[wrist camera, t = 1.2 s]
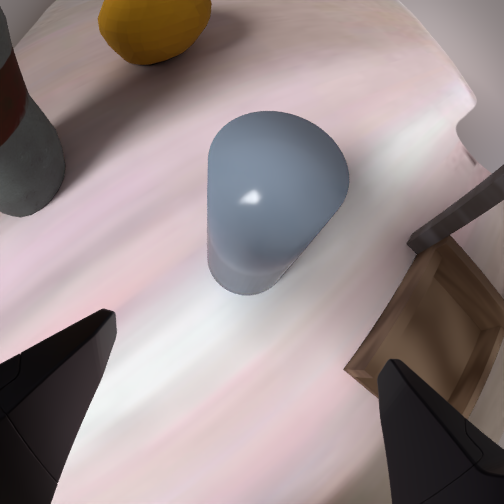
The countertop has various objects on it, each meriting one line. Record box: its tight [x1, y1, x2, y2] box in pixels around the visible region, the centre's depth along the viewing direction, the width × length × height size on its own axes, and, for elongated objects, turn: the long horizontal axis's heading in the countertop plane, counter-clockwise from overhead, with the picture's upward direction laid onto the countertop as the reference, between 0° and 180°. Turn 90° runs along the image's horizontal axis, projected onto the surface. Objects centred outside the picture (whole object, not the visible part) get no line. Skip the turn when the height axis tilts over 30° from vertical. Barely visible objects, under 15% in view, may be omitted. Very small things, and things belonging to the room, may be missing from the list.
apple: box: [98, 0, 212, 65], centre depth 26 cm, size 13×13×11 cm
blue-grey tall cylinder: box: [207, 111, 349, 295], centre depth 18 cm, size 6×6×12 cm
